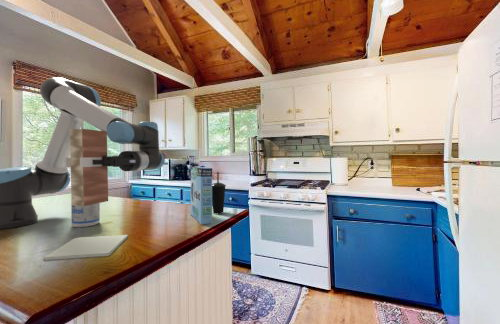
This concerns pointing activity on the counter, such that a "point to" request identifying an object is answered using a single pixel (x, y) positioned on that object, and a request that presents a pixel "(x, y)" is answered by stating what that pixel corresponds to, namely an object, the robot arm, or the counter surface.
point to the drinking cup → (218, 196)
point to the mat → (87, 247)
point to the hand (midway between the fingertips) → (73, 162)
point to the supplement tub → (85, 215)
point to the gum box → (201, 194)
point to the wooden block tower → (88, 178)
